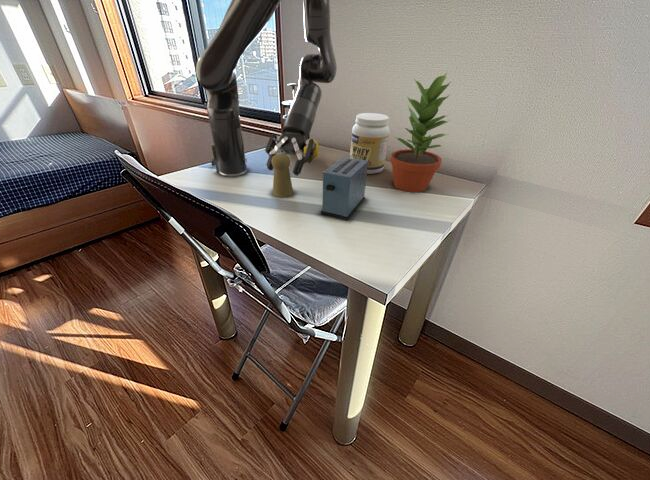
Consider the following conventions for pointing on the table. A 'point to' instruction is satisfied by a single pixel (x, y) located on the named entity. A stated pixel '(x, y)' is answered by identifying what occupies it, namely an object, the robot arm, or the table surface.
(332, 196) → the toaster
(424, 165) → the potted plant
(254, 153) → the table surface
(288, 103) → the french press
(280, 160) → the cork
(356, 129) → the supplement tub
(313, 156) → the lemon
